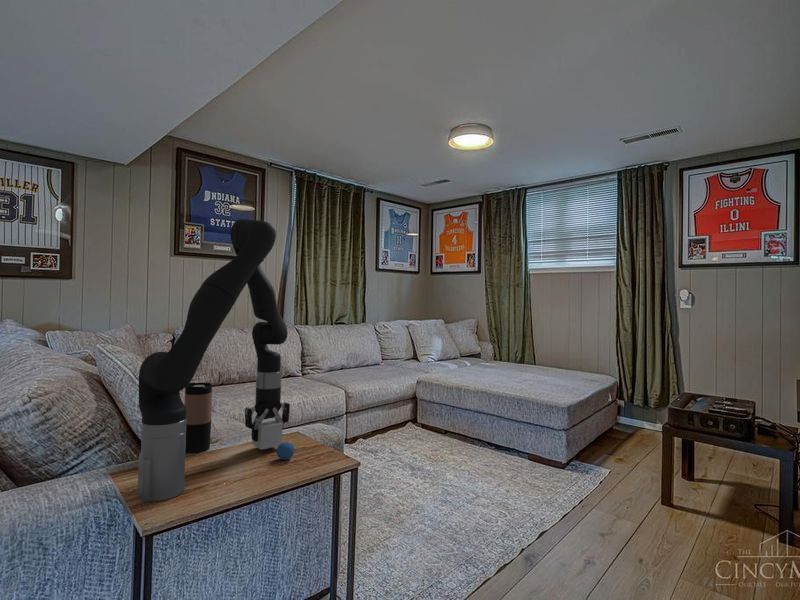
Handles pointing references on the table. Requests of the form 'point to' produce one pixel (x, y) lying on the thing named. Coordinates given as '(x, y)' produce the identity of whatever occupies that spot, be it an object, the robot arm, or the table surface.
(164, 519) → the table surface
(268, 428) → the matte gray cube
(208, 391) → the travel mug
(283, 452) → the ball
